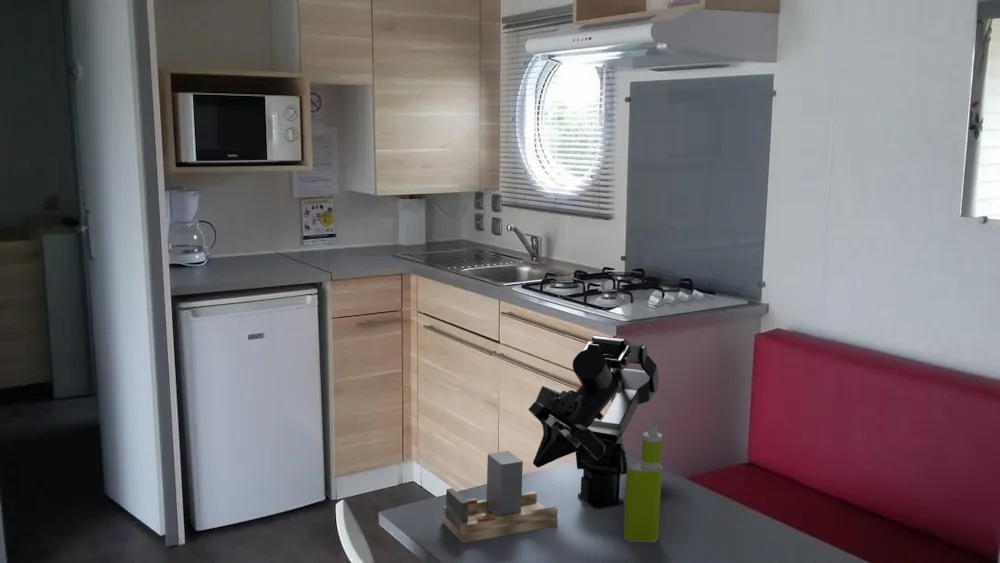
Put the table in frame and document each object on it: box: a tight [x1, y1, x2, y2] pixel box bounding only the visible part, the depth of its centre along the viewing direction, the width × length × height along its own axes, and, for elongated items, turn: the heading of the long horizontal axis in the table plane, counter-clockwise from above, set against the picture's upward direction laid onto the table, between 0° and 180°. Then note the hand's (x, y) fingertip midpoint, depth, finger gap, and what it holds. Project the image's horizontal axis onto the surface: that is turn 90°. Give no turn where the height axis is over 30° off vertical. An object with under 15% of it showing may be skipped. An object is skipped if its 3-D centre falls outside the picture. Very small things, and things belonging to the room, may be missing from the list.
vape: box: [623, 422, 663, 543], centre depth 149 cm, size 4×6×20 cm, turn 88°
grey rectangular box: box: [486, 450, 524, 517], centre depth 153 cm, size 4×6×10 cm
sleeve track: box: [442, 487, 559, 544], centre depth 153 cm, size 18×9×6 cm, turn 116°
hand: (535, 465), depth 155 cm, fingers closed
